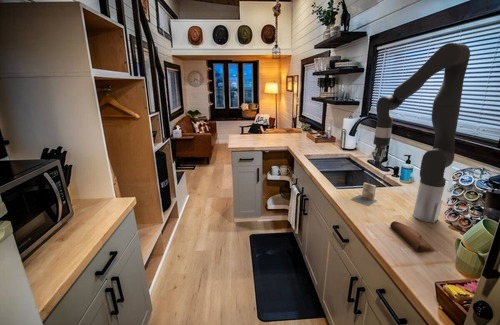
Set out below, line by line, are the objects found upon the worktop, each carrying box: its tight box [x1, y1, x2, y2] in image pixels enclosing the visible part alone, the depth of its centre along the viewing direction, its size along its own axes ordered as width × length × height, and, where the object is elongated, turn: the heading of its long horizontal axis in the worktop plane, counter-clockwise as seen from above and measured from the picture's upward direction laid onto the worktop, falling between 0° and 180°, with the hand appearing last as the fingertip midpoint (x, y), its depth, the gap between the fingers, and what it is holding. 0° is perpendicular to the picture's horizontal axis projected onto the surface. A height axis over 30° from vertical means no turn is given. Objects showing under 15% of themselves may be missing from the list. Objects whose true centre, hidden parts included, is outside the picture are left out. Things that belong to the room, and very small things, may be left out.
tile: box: [361, 182, 377, 200], centre depth 138 cm, size 6×2×8 cm, turn 39°
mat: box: [350, 194, 378, 207], centre depth 137 cm, size 10×10×1 cm
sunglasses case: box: [389, 220, 437, 253], centre depth 104 cm, size 18×7×7 cm, turn 3°
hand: (377, 167), depth 138 cm, fingers closed
